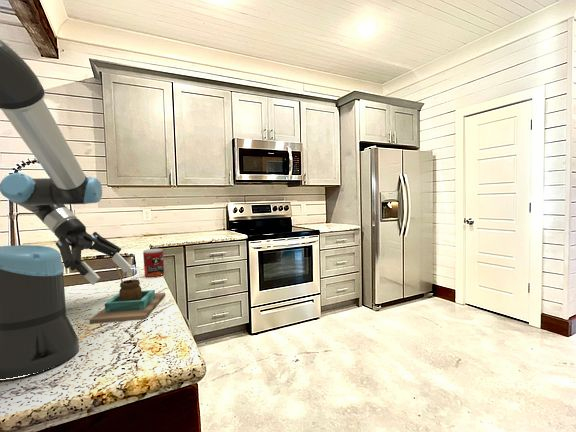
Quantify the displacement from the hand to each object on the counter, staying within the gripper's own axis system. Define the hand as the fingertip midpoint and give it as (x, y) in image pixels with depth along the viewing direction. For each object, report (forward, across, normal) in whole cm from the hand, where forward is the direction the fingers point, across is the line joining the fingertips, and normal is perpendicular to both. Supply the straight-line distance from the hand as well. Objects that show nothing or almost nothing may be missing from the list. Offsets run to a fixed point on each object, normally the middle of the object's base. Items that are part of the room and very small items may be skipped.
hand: (113, 275), depth 93 cm
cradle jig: (+11, +1, -3) cm, 11 cm away
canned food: (0, -36, -14) cm, 39 cm away
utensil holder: (+10, +1, -2) cm, 11 cm away
